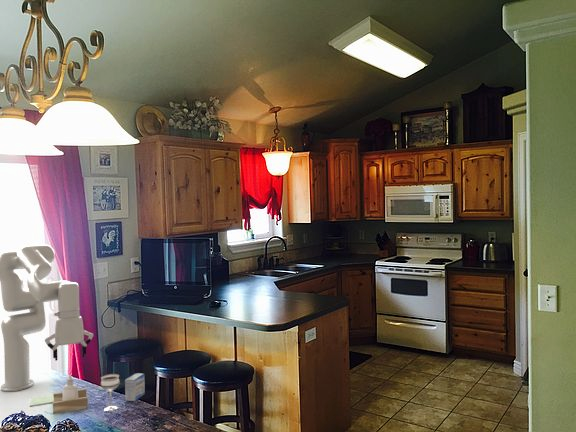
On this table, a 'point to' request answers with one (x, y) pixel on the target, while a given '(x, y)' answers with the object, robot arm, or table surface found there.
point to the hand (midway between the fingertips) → (70, 358)
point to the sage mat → (42, 400)
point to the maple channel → (70, 402)
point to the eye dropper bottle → (70, 390)
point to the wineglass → (110, 387)
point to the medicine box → (134, 387)
